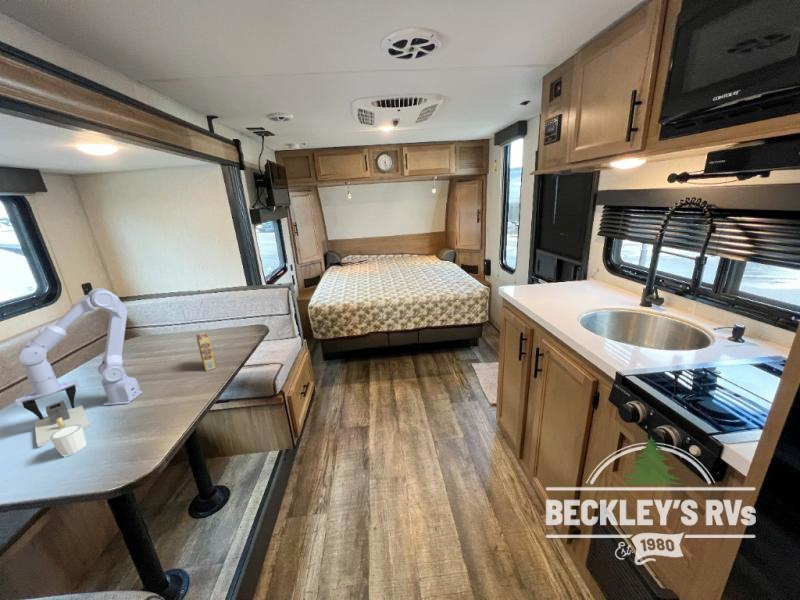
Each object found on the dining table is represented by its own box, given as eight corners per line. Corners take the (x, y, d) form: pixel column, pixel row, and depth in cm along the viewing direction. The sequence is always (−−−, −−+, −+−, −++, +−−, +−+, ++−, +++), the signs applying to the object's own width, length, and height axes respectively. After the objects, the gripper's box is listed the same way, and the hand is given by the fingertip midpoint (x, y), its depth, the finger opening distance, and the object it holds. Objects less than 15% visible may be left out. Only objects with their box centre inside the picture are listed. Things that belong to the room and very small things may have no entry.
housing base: (36, 426, 108) (30, 414, 107) (83, 408, 117) (78, 397, 116) (38, 448, 97) (32, 434, 96) (90, 426, 106) (85, 414, 105)
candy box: (216, 367, 142) (208, 337, 138) (206, 371, 140) (197, 340, 136) (213, 361, 149) (205, 332, 145) (203, 364, 147) (195, 335, 142)
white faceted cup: (95, 441, 99) (88, 422, 97) (74, 457, 92) (65, 438, 90) (74, 443, 98) (65, 424, 97) (51, 459, 92) (42, 440, 90)
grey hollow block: (50, 418, 110) (45, 406, 108) (68, 412, 113) (63, 400, 111) (52, 425, 106) (46, 412, 104) (70, 418, 109) (64, 406, 108)
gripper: (71, 366, 113) (84, 398, 116) (9, 384, 102) (26, 419, 106) (73, 371, 108) (87, 405, 112) (9, 391, 98) (26, 427, 101)
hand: (57, 412), depth 109 cm, fingers open, 7 cm apart
